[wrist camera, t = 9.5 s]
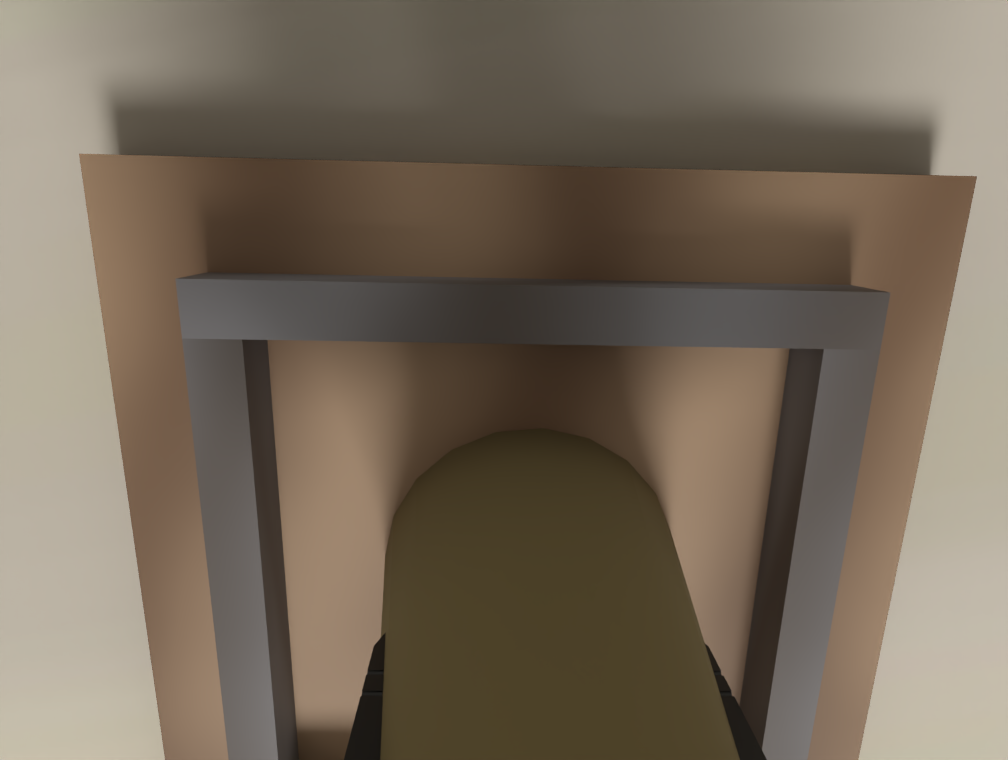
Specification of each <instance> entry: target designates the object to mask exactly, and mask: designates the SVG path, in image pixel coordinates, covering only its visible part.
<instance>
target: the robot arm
mask: <svg viewBox="0 0 1008 760" xmlns="http://www.w3.org/2000/svg"><path fill="white" fill-rule="evenodd" d="M385 633H386V632H385ZM705 646H706V649H707V652H708V656H709V659H710V662H711V665H712V669H713V672H714V675H715V679H716V682H717V685H718V688H719V692H720V695H721V698H722V702H723V705H724V708H725V712H726V715H727V718H728V722H729V725H730V728H731V732H732V735H733V738H734V742H735V745H736V748H737V751H738V755H739V758H740V760H767V759H766V757H765V755H764V753H763V751H762V749H761V747H760V745H759V743H758V741H757V739H756V737H755V736H754V734H753V732H752V730H751V728H750V726H749V724H748V722H747V720H746V718H745V716H744V714H743V712H742V710H741V708H740V706H739V704H738V702H737V701H736V699H735V697H734V696H732V691H731V689H730V687H729V685H728V683H727V681H726V679H725V677H724V676H722V675H721V669H720V667H719V666H718V664H717V662H716V660H715V658H714V656H713V654H712V652H711V650H710V648H709V646H708V645H706V644H705ZM384 658H385V634H384V635H383V636H382V637H381V638H380V639H379V640H378V642H377V643H376V644H375V645H374V647H373V651H372V655H371V658H370V662H369V666H368V670H367V675H366V677H365V681H364V685H363V689H362V696H360V700H359V704H358V708H357V711H356V715H355V719H354V723H353V726H352V730H351V734H350V738H349V742H348V745H347V749H346V753H345V757H344V760H380V755H381V731H382V706H383V696H382V695H383V682H384V675H383V673H384Z"/></svg>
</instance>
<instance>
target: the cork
mask: <svg viewBox="0 0 1008 760" xmlns="http://www.w3.org/2000/svg"><path fill="white" fill-rule="evenodd" d="M385 632H386V633H385ZM384 634H385V658H384V673H383V675H384V682H383V695H382V696H383V706H382V731H381V755H380V760H740V758H739V755H738V751H737V748H736V745H735V742H734V738H733V735H732V732H731V728H730V725H729V722H728V718H727V715H726V712H725V708H724V705H723V702H722V698H721V695H720V692H719V688H718V685H717V682H716V679H715V675H714V672H713V669H712V665H711V662H710V659H709V656H708V652H707V649H706V646H705V642H704V639H703V636H702V633H701V629H700V626H699V623H698V619H697V616H696V613H695V610H694V606H693V603H692V600H691V597H690V593H689V590H688V587H687V583H686V580H685V577H684V574H683V570H682V567H681V564H680V560H679V557H678V554H677V551H676V547H675V544H674V541H673V538H672V534H671V531H670V529H669V526H668V523H667V521H666V518H665V515H664V513H663V510H662V508H661V505H660V502H659V500H658V497H657V495H656V493H655V492H654V490H653V489H652V488H651V487H650V486H649V485H648V483H647V482H646V481H645V480H644V479H643V478H642V477H641V475H640V474H639V473H638V472H637V471H636V470H635V468H634V467H633V466H632V465H631V464H630V463H629V462H628V461H627V460H626V459H624V458H622V457H620V456H619V455H617V454H615V453H614V452H612V451H610V450H608V449H607V448H605V447H603V446H602V445H600V444H598V443H596V442H595V441H593V440H591V439H590V438H586V437H581V436H577V435H572V434H568V433H563V432H559V431H554V430H549V429H545V428H538V429H526V430H515V431H503V432H494V433H492V434H490V435H487V436H485V437H482V438H480V439H477V440H475V441H472V442H470V443H467V444H465V445H462V446H460V447H457V448H455V449H452V450H451V451H450V452H448V453H447V454H446V455H445V456H443V457H442V458H441V459H440V460H439V461H437V462H436V463H435V464H434V465H433V466H431V467H430V468H429V469H428V470H427V471H425V472H424V473H423V474H422V475H420V476H419V477H418V478H417V479H416V480H415V482H414V484H413V485H412V487H411V489H410V490H409V492H408V493H407V495H406V497H405V498H404V500H403V501H402V503H401V505H400V506H399V508H398V510H397V511H396V513H395V514H394V517H393V521H392V526H391V531H390V535H389V540H388V545H387V550H386V554H385V567H384V586H383V605H382V624H381V637H382V636H383V635H384Z"/></svg>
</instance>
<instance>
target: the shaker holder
mask: <svg viewBox="0 0 1008 760" xmlns="http://www.w3.org/2000/svg"><path fill="white" fill-rule="evenodd" d="M79 156H80V163H81V170H82V177H83V184H84V191H85V199H86V206H87V213H88V220H89V227H90V234H91V241H92V248H93V255H94V262H95V269H96V276H97V283H98V290H99V297H100V304H101V311H102V318H103V325H104V332H105V339H106V346H107V353H108V360H109V367H110V374H111V381H112V388H113V396H114V403H115V410H116V417H117V424H118V431H119V438H120V445H121V452H122V459H123V466H124V473H125V480H126V487H127V494H128V501H129V508H130V515H131V522H132V529H133V536H134V543H135V550H136V557H137V564H138V571H139V578H140V585H141V593H142V600H143V607H144V614H145V621H146V628H147V635H148V642H149V649H150V656H151V663H152V670H153V677H154V684H155V691H156V698H157V705H158V712H159V719H160V726H161V733H162V740H163V747H164V754H165V760H344V757H345V753H346V749H347V745H348V742H349V738H350V734H351V730H352V726H353V723H354V719H355V715H356V711H357V708H358V704H359V700H360V696H362V689H363V685H364V681H365V677H366V675H367V670H368V666H369V662H370V658H371V655H372V651H373V647H374V645H375V644H376V643H377V642H378V640H379V639H380V638H381V624H382V605H383V586H384V567H385V554H386V550H387V545H388V540H389V535H390V531H391V526H392V521H393V517H394V514H395V513H396V511H397V510H398V508H399V506H400V505H401V503H402V501H403V500H404V498H405V497H406V495H407V493H408V492H409V490H410V489H411V487H412V485H413V484H414V482H415V480H416V479H417V478H418V477H419V476H420V475H422V474H423V473H424V472H425V471H427V470H428V469H429V468H430V467H431V466H433V465H434V464H435V463H436V462H437V461H439V460H440V459H441V458H442V457H443V456H445V455H446V454H447V453H448V452H450V451H451V450H452V449H455V448H457V447H460V446H462V445H465V444H467V443H470V442H472V441H475V440H477V439H480V438H482V437H485V436H487V435H490V434H492V433H494V432H503V431H515V430H526V429H538V428H545V429H549V430H554V431H559V432H563V433H568V434H572V435H577V436H581V437H586V438H590V439H591V440H593V441H595V442H596V443H598V444H600V445H602V446H603V447H605V448H607V449H608V450H610V451H612V452H614V453H615V454H617V455H619V456H620V457H622V458H624V459H626V460H627V461H628V462H629V463H630V464H631V465H632V466H633V467H634V468H635V470H636V471H637V472H638V473H639V474H640V475H641V477H642V478H643V479H644V480H645V481H646V482H647V483H648V485H649V486H650V487H651V488H652V489H653V490H654V492H655V493H656V495H657V497H658V500H659V502H660V505H661V508H662V510H663V513H664V515H665V518H666V521H667V523H668V526H669V529H670V531H671V534H672V538H673V541H674V544H675V547H676V551H677V554H678V557H679V560H680V564H681V567H682V570H683V574H684V577H685V580H686V583H687V587H688V590H689V593H690V597H691V600H692V603H693V606H694V610H695V613H696V616H697V619H698V623H699V626H700V629H701V633H702V636H703V639H704V642H705V644H706V645H708V646H709V648H710V650H711V652H712V654H713V656H714V658H715V660H716V662H717V664H718V666H719V667H720V669H721V675H722V676H724V677H725V679H726V681H727V683H728V685H729V687H730V689H731V691H732V696H734V697H735V699H736V701H737V702H738V704H739V706H740V708H741V710H742V712H743V714H744V716H745V718H746V720H747V722H748V724H749V726H750V728H751V730H752V732H753V734H754V736H755V737H756V739H757V741H758V743H759V745H760V747H761V749H762V751H763V753H764V755H765V757H766V759H767V760H858V758H859V753H860V748H861V743H862V738H863V733H864V728H865V723H866V719H867V714H868V709H869V704H870V699H871V694H872V689H873V684H874V679H875V674H876V669H877V664H878V660H879V655H880V650H881V645H882V640H883V635H884V630H885V625H886V620H887V615H888V610H889V606H890V601H891V596H892V591H893V586H894V581H895V576H896V571H897V566H898V561H899V556H900V552H901V547H902V542H903V537H904V532H905V527H906V522H907V517H908V512H909V507H910V502H911V498H912V493H913V488H914V483H915V478H916V473H917V468H918V463H919V458H920V453H921V448H922V444H923V439H924V434H925V429H926V424H927V419H928V414H929V409H930V404H931V399H932V394H933V390H934V385H935V380H936V375H937V370H938V365H939V360H940V355H941V350H942V345H943V340H944V335H945V331H946V326H947V321H948V316H949V311H950V306H951V301H952V296H953V291H954V286H955V281H956V277H957V272H958V267H959V262H960V257H961V252H962V247H963V242H964V237H965V232H966V227H967V223H968V218H969V213H970V208H971V203H972V198H973V193H974V188H975V183H976V178H977V176H939V175H899V174H859V173H820V172H780V171H740V170H701V169H661V168H621V167H582V166H542V165H502V164H463V163H423V162H383V161H344V160H304V159H264V158H225V157H185V156H145V155H105V154H79Z"/></svg>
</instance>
